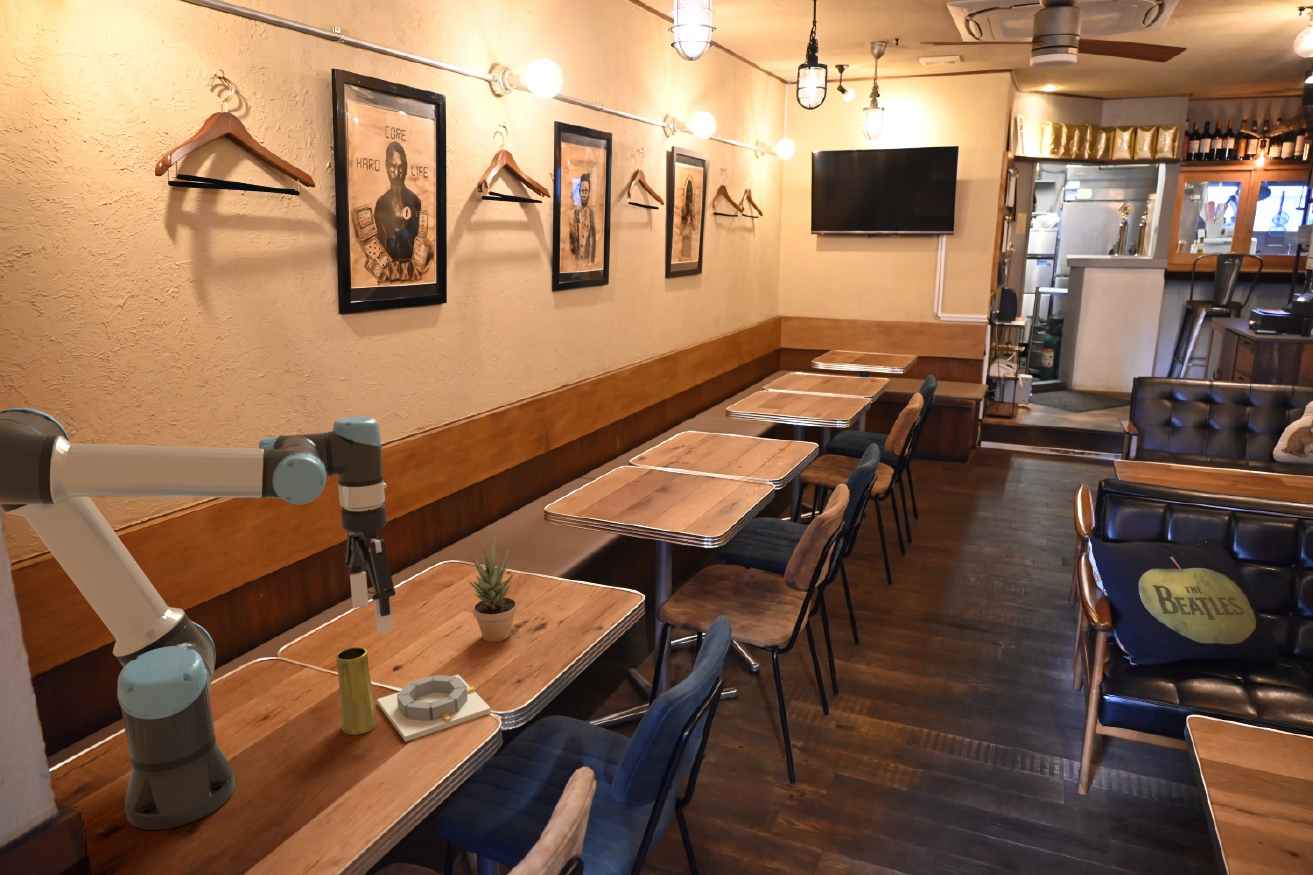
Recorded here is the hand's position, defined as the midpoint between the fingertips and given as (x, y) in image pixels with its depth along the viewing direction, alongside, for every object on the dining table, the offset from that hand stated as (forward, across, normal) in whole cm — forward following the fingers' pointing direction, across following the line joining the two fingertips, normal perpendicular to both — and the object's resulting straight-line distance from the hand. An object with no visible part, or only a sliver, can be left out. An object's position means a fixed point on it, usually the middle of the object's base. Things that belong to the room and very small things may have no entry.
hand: (372, 618), depth 158 cm
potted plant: (+18, +16, -32) cm, 40 cm away
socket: (+18, -5, -8) cm, 21 cm away
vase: (+19, -2, +4) cm, 20 cm away
